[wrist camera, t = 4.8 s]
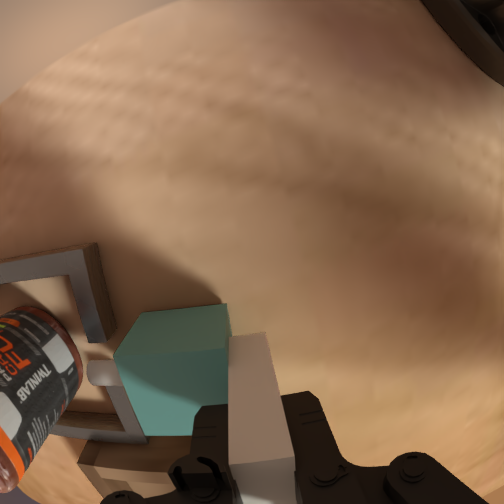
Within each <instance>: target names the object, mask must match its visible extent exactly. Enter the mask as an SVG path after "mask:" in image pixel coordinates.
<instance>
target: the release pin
mask: <svg viewBox="0 0 504 504" xmlns="http://www.w3.org/2000/svg"><path fill="white" fill-rule="evenodd" d="M229 337H232V332H231V326H230V320H229V314H228V308H227V303H225V304H217V305H209V306H200V307H191V308H182V309H173V310H163V311H153V312H142V313H141V314H140V316H139V317H138V319H137V320H136V322H135V323H134V325H133V326H132V328H131V329H130V331H129V332H128V334H127V335H126V337H125V338H124V340H123V341H122V343H121V344H120V346H119V347H118V349H117V350H116V352H115V353H114V355H113V358H114V360H90V361H89V362H88V364H87V377H88V380H89V382H90V383H91V384H92V385H96V386H124V388H125V390H126V393H127V395H128V398H129V400H130V402H131V405H132V407H133V410H134V412H135V414H136V416H137V419H138V421H139V423H140V425H141V427H142V430H143V432H144V434H145V436H185V435H192V430H193V423H194V416H195V415H196V413H197V412H198V411H199V409H200V408H201V406H206V405H218V404H228V355H229Z"/></svg>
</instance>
